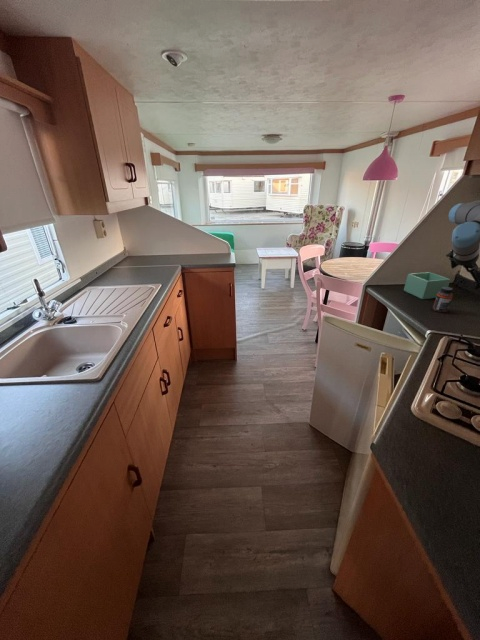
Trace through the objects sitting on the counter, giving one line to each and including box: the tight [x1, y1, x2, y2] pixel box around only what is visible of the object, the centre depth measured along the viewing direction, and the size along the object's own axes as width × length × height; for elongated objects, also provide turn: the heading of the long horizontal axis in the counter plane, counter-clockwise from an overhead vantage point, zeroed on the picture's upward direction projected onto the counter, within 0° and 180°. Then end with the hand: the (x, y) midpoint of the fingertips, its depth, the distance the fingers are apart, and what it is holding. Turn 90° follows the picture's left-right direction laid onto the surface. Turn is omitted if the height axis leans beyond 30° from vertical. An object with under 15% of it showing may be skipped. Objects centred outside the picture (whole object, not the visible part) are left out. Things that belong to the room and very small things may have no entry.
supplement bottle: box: [432, 286, 454, 314], centre depth 124 cm, size 6×6×11 cm
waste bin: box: [403, 271, 451, 300], centre depth 144 cm, size 14×14×10 cm
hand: (466, 276), depth 117 cm, fingers open, 13 cm apart
